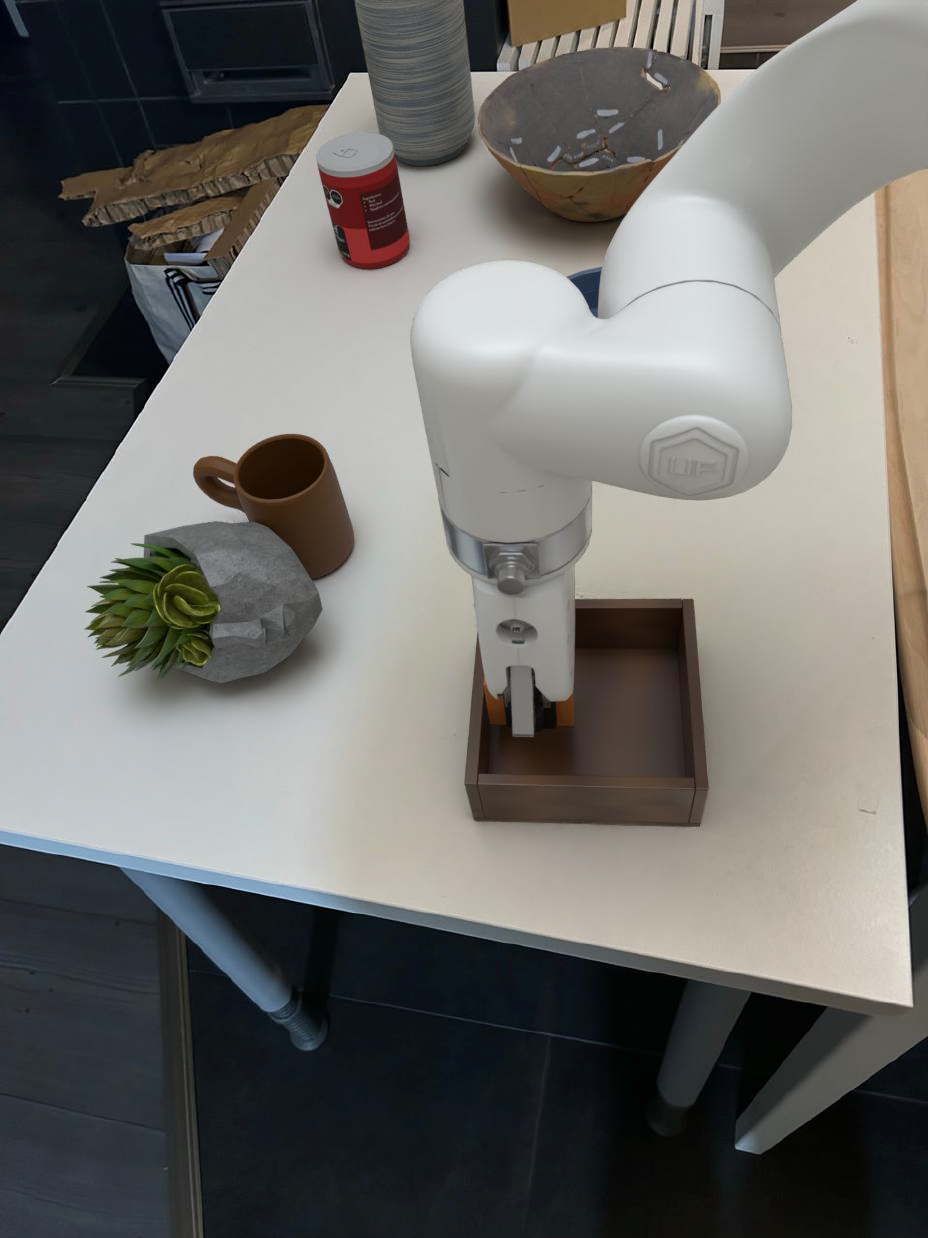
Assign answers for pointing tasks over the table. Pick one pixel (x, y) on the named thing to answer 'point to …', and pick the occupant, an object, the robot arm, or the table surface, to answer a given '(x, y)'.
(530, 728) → the robot arm
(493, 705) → the packet orange
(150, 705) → the table surface
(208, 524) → the potted plant
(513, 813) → the holder
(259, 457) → the mug
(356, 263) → the canned food
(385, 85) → the vase
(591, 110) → the bowl
